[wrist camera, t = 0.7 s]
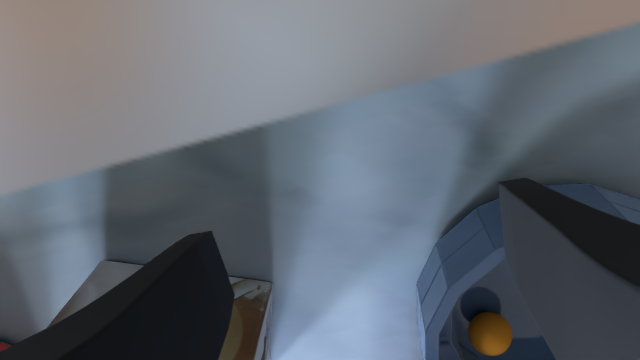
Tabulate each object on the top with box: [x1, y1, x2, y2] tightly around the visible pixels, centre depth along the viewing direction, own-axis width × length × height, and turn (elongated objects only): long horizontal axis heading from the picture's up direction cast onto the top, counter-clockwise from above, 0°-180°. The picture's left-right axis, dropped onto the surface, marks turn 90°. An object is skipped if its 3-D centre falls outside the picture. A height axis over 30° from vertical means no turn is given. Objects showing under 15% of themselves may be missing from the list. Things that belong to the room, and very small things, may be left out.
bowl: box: [417, 183, 640, 360], centre depth 22 cm, size 12×12×4 cm
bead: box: [468, 312, 512, 356], centre depth 23 cm, size 2×2×2 cm
